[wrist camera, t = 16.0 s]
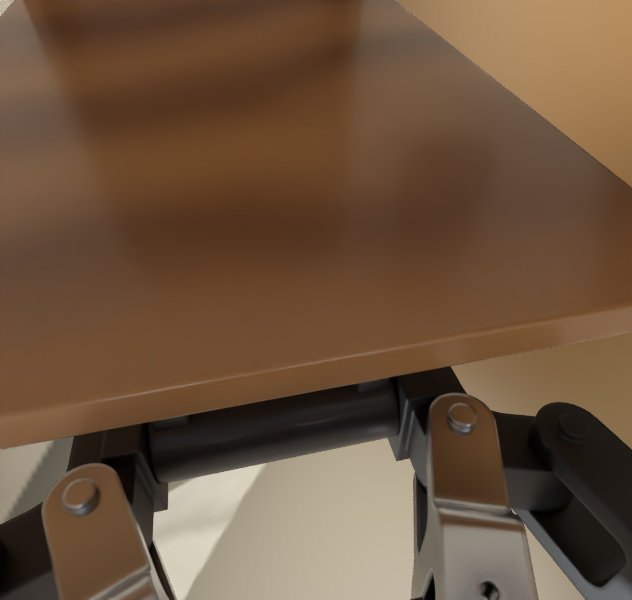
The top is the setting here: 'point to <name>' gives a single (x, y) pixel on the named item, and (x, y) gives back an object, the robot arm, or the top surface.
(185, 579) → the top surface
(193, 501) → the top surface
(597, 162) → the lid
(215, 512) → the top surface
